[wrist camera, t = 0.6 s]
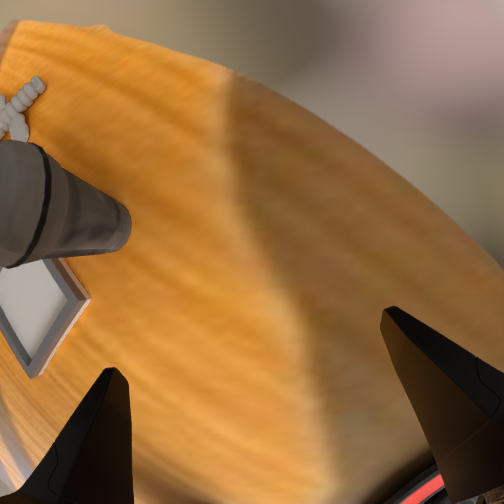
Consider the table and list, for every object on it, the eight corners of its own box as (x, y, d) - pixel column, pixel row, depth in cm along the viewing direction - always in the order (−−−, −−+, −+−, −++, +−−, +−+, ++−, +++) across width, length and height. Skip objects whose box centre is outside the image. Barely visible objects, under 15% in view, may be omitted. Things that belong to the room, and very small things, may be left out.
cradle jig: (41, 374, 24) (30, 379, 22) (-8, 289, 25) (-19, 289, 23) (92, 298, 23) (79, 301, 21) (32, 208, 24) (20, 205, 22)
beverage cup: (78, 267, 23) (-121, 263, 4) (83, 190, 24) (-97, 121, 4) (144, 269, 23) (-106, 270, 3) (148, 182, 23) (-54, 59, 3)
